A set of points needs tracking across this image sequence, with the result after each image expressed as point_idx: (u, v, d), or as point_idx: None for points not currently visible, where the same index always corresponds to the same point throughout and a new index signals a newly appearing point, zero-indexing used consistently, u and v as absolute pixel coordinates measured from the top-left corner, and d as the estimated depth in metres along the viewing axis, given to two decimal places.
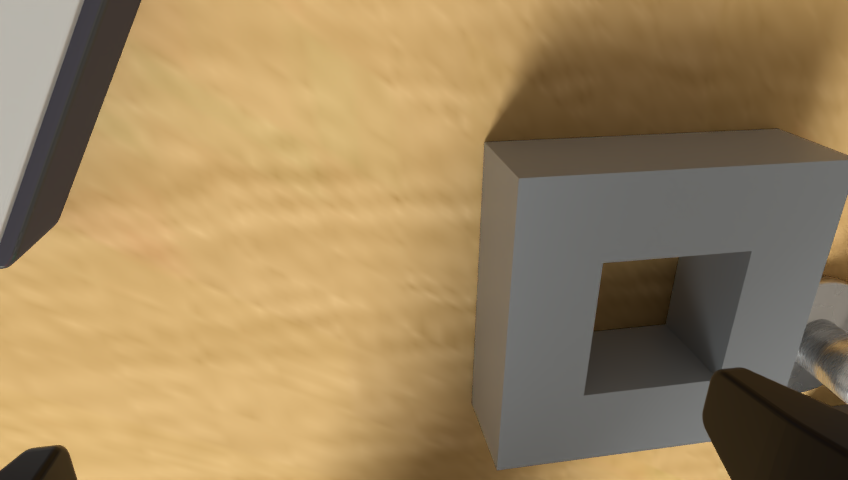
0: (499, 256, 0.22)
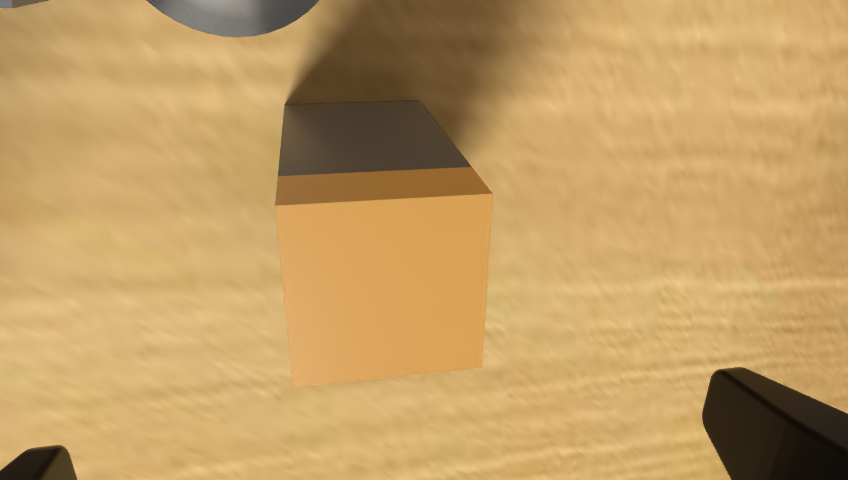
0: None
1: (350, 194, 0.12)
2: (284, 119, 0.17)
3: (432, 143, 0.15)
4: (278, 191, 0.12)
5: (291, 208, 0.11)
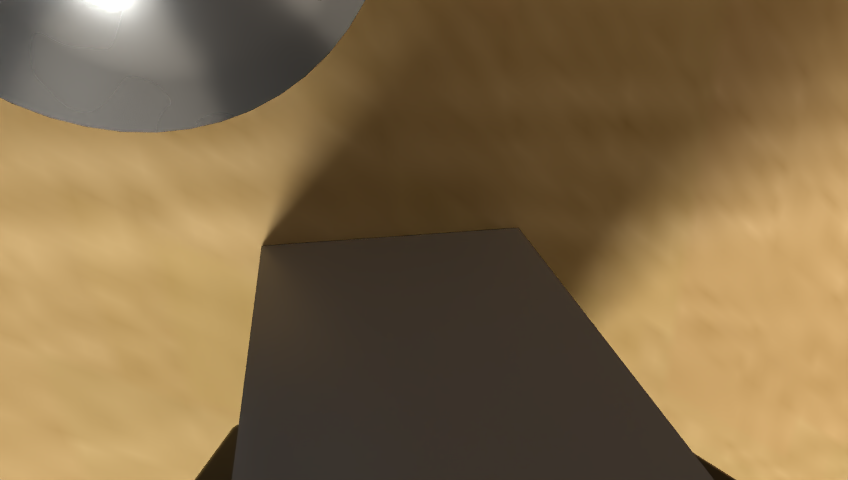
0: None
1: None
2: (256, 307, 0.08)
3: (619, 427, 0.06)
4: None
5: None
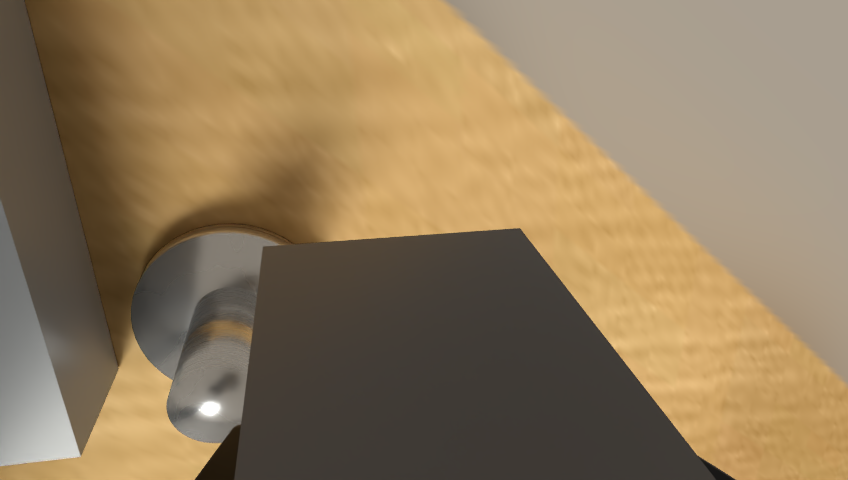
0: None
1: None
2: (258, 307, 0.08)
3: (622, 428, 0.06)
4: None
5: None
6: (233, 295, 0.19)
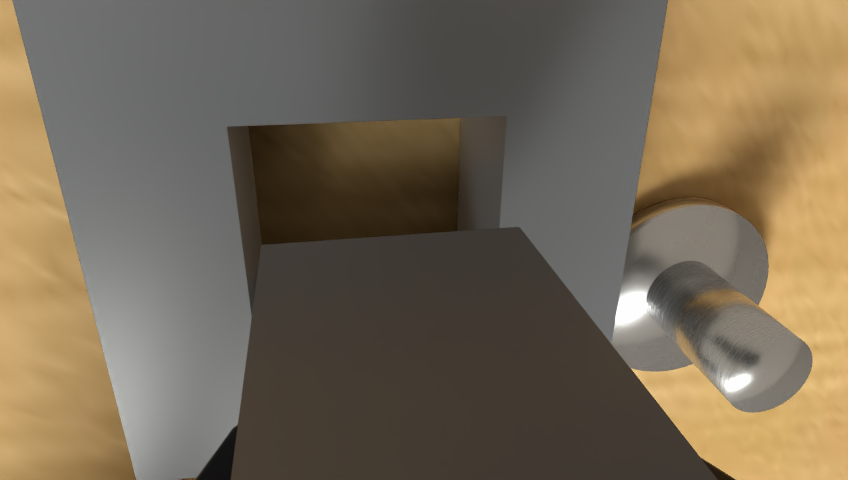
0: None
1: None
2: (255, 306, 0.08)
3: (622, 427, 0.06)
4: None
5: None
6: (704, 268, 0.19)
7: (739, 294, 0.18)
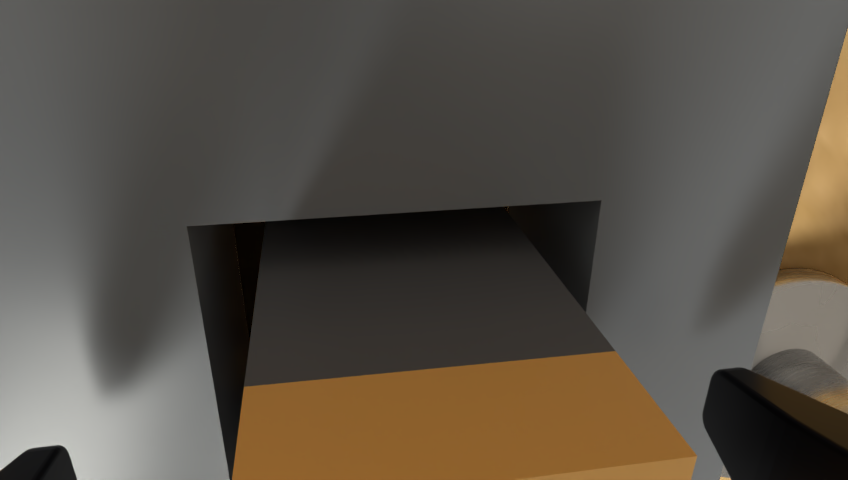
0: None
1: (394, 460, 0.05)
2: None
3: (520, 275, 0.08)
4: (239, 450, 0.05)
5: None
6: (814, 361, 0.15)
7: None
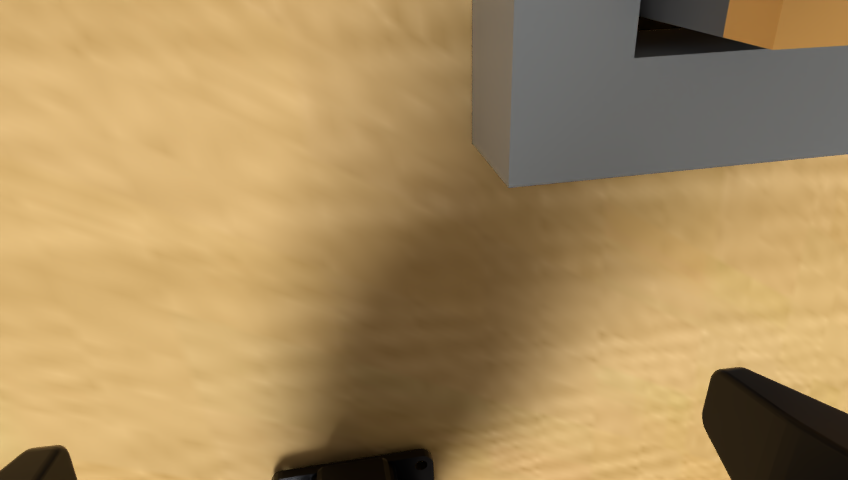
0: None
1: None
2: None
3: None
4: None
5: None
6: None
7: None
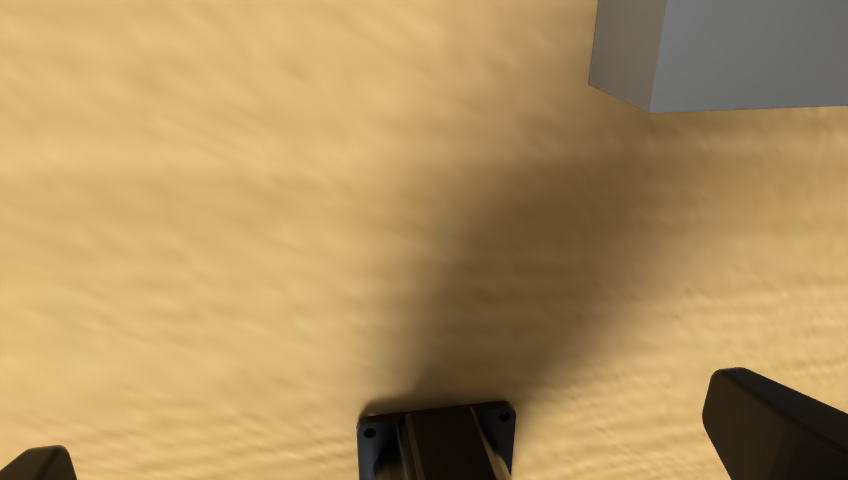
0: None
1: None
2: None
3: None
4: None
5: None
6: None
7: None
